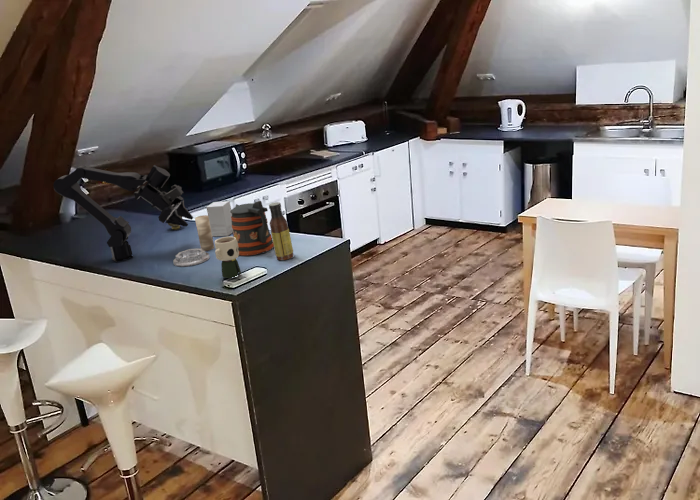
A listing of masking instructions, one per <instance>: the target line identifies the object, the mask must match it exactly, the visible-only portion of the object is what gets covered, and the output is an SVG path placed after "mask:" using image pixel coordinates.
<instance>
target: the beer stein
mask: <svg viewBox="0 0 700 500" xmlns="http://www.w3.org/2000/svg"><path fill="white" fill-rule="evenodd" d="M268 209H269V208H268V207H264V206H263V203H262V201H261V200H258V201H255V202H253V203H251V202H250V203H242V204H237V203H236V204H235V206H234V207H232V208H231V211H230V213H232V216H231V218H232V219H231V220H232V229H233V233H232V235H233V236H232V237H235V238H236V240H237V242H238V251H239V256H240V257H241V256H242V257H249V256H256V255H261V254H265V253H266V252H269V251H271V250H272V249H274V244H273V239H272V234H271V231H270V227H269V225H268V218H267V216H266V213H267V212H268Z"/></svg>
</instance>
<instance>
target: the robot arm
mask: <svg viewBox="0 0 700 500" xmlns="http://www.w3.org/2000/svg"><path fill="white" fill-rule="evenodd" d="M170 176H171V174H170V172H168V171H167V169H165V168H162V167H159V166H157V165H156V164H154V165H152V167H151V169H150V171H149V173H148V174H140V173H138V172H135V171H134V172H131V171H129V172H128V171H126V172H115V171H110V170H107V169H106V170H105V169H99V168H94V167H90V166H86V165H81V166H78V167H77V168H76V169H75V170H74V171H71V173H69V174H65V175H63V176H60V177H59V178H57V179H55V181H54V182H53V185H52V186H53V190H54V192H56V193H57V194H58V195H61V196H62V197H64V198H65V199H69V200H72V201H74V202H75V203H76V204H77V205H78V206H80V207H81V208H82V209H83V210H84V211H86V212H87V213H88V214H89V215H91V217H93V218H94V219H95V220H96V221H98V222H99V223H100V224H101V225H103V226H104V228H105V231H106V232H107V233H108V234H109V236H110V237H109V238H108V240H107V241H106V244H107V246H108V248H110V253H111V260H112V261H113V262H116V263H119V262H124V261H126V260H129V259H132V258H134V255H133V251H132V245H131V244H130V243H129V241H128V239H129V236H130V235H131V234H132V226H131V224H129V223H130V222H129V221H127V220H126V219H124V217H123V216H121V215H119V216H118V217H115V216H113V215H112V214H111V213H109V211H107V210H106V209H104V207H102V206H101V205H100V204H98V202H96V201H95V200H94V199H92V198H91V197H90V196H89V195H87V194H86V193H85V192H84V191H83V189H82V188H81V186H80V183H78V182H79V181H80V180H82V179H86V180H91V181H96V182H101V183H107V184H111V185H115V186H117V187H119V188H120V189H123V190H126V191H129V192H133V195H134V200H135V201H138V199H140V197H141V198H142V199H143V200H145V201H146V202H148V203H149V204H151V208H153V209H155V208H156V209H157V210H158V211H160V214H159V215H158V221H160V222H161V223H162V224H164V223H165V224H168V223H170V224H176V225H180V227H185V228H186V227H188V226H189V223H188V222H187V221H186V220H184V219H188V220H191V221H192V220H193V218H194V216H193V215H192V214H191V212H190V211H189V210H188V209H187V208H186V207H185V200H184V197H182V195H183V194H184V191H183V190H182V188H183V187H182V186H180V185H177V184H174V185H172V186H171V187H170V191H168V192H166V191H160V189H161V188H163V187H164V185H165V184H166V182H167V181H168V180H169V178H170ZM144 184H145V185H144ZM139 187H140V188H139ZM138 188H139V189H138ZM137 189H138V190H137ZM135 190H137V191H135ZM180 216H182V218H181V217H180ZM183 218H184V219H183ZM166 219H167V221H166Z"/></svg>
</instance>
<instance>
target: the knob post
mask: <svg viewBox="0 0 700 500" xmlns="http://www.w3.org/2000/svg"><path fill="white" fill-rule="evenodd" d="M194 221H195V225H196V230H197V236H198V241H199V246H200V248H201V249H203V250H205V252H208V251H211V250H214V249H215V242H214V239H213V237H212V232H211V227H210V222H209V217H208V214H206V215H205V214H204V215H198V216H196V217H194Z"/></svg>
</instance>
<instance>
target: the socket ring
mask: <svg viewBox="0 0 700 500" xmlns="http://www.w3.org/2000/svg"><path fill="white" fill-rule="evenodd" d="M210 258H211V257H210V253H209V252H208V251H205V250H203V249H201V247H200V248H199V247H198V248H189V249H186V250H183V251H179V252H178V253H177V254H175V257H174V259H173V260H172V261H173V262H172V263H173V265H174V266H175V267H179V268H185V267H193V266H198V265H201V264H203V263H205V262H208V261H209V259H210Z"/></svg>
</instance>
